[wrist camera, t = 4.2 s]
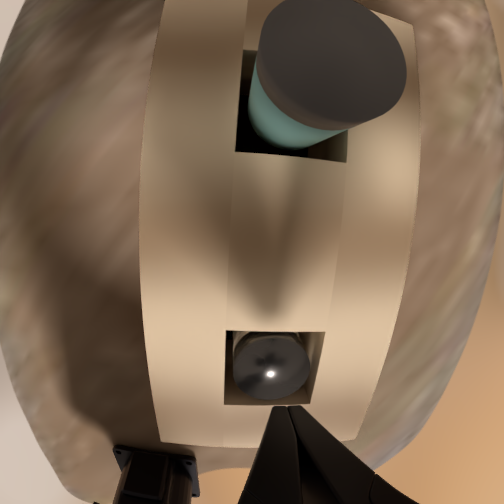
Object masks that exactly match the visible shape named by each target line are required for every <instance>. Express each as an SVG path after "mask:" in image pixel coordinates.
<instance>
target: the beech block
mask: <svg viewBox="0 0 504 504" xmlns="http://www.w3.org/2000/svg"><path fill="white" fill-rule="evenodd" d="M283 1H285V0H165V3H164V7H163V11H162V16H161V20H160V25H159V29H158V34H157V39H156V44H155V49H154V55H153V61H152V67H151V73H150V80H149V87H148V94H147V102H146V110H145V119H144V129H143V141H142V154H141V170H140V193H139V261H140V285H141V301H142V314H143V326H144V336H145V346H146V354H147V362H148V370H149V377H150V384H151V390H152V397H153V403H154V408H155V414H156V419H157V424H158V429H159V434H160V439H161V442H169V443H177V444H187V445H198V446H213V447H240V448H259V445H260V442H261V439H262V436H263V433H264V431H265V428H266V425H267V422H268V418H269V415H270V412H271V409H272V407H273V406H286V407H287V406H290V405H301V406H303V407H304V408H305V409H306V410H307V411H308V412H309V413H310V414H311V415H312V416H313V417H314V418H315V419H316V420H317V421H318V422H319V423H320V424H321V425H322V426H323V427H325V428H326V429H327V430H328V431H329V432H330V433H331V434H332V435H333V436H334V437H335V438H336V439H338V440H339V441H346V440H352V439H355V438H356V436H357V434H358V432H359V429H360V427H361V424H362V422H363V420H364V417H365V415H366V412H367V410H368V407H369V404H370V402H371V399H372V396H373V394H374V391H375V388H376V385H377V382H378V379H379V376H380V373H381V370H382V367H383V364H384V361H385V358H386V354H387V351H388V348H389V344H390V341H391V337H392V334H393V330H394V326H395V322H396V318H397V314H398V310H399V306H400V302H401V297H402V293H403V288H404V283H405V278H406V273H407V268H408V263H409V257H410V251H411V244H412V238H413V231H414V223H415V215H416V206H417V195H418V183H419V167H420V133H421V125H420V91H419V76H418V65H417V55H416V47H415V39H414V32H413V26H412V25H411V24H408V23H406V22H403V21H401V20H398V19H395V18H392V17H390V16H387V15H384V14H381V13H378V12H375V11H372V10H370V11H372V12H373V13H374V14H376V15H377V16H378V17H379V18H380V19H381V20H382V21H383V22H384V23H385V24H386V25H387V26H388V27H389V28H390V30H391V31H392V32H393V34H394V35H395V37H396V38H397V40H398V42H399V44H400V46H401V48H402V51H403V53H404V57H405V61H406V67H407V79H406V85H405V88H404V92H403V94H402V96H401V98H400V99H399V101H398V102H397V104H396V105H395V106H394V107H393V108H392V109H391V110H389V111H388V112H386V113H385V114H383V115H381V116H379V117H377V118H375V119H372V120H370V121H367V122H365V123H362V124H360V125H358V126H355V127H353V128H350V129H348V130H346V131H343V132H341V133H339V134H336V135H334V136H332V137H330V138H327V139H325V140H323V141H321V142H318V143H316V144H314V145H312V146H310V147H308V158H302V157H293V156H283V155H272V154H259V153H245V152H236V139H237V125H238V112H239V99H240V95H249V94H250V89H251V83H252V77H253V72H254V66H255V61H256V56H257V50H258V45H259V40H260V35H261V29H262V27H263V24H264V21H265V20H266V18H267V16H268V15H269V13H270V12H271V11H272V10H273V9H274V8H275V7H276V6H277V5H278V4H280V3H281V2H283ZM226 330H235V331H268V332H298V333H299V336H300V338H301V340H302V343H303V345H304V348H305V350H306V353H307V355H308V358H309V361H310V372H309V375H308V378H307V380H306V381H305V383H304V384H303V385H302V386H301V387H300V388H299V389H298V390H297V391H295V392H294V393H292V394H290V395H288V396H286V397H283V398H279V399H274V400H263V399H257V398H254V397H251V396H249V395H247V394H245V393H244V392H243V391H242V390H240V389H239V387H238V386H237V384H236V383H235V380H234V377H233V340H226Z"/></svg>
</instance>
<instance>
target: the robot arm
mask: <svg viewBox="0 0 504 504" xmlns="http://www.w3.org/2000/svg"><path fill="white" fill-rule="evenodd" d="M113 453H114V455H115V458H116V460H117V463H118V465H119V467H120V469H121V472H122V474H121V477H120V480H119V484H118V487H117V490H116V494H115V497H114V500H113V504H191V497H199V496H200V489H199V481H198V473H197V464H196V459H195V458H194V457H191V456H183V455H174V454H166V453H159V452H153V451H146V450H141V449H135V448H130V447H125V446H120V445H115V446H114V447H113ZM93 504H99V503H97V502H94V503H93ZM238 504H419V503H417V502H415V501H414V500H412V499H410V498H409V497H407V496H406V495H404V494H403V493H401V492H400V491H398V490H397V489H395V488H394V487H393V486H391V485H390V484H389V483H387V482H386V481H385V480H384V479H382V478H381V477H380V476H379V475H378V474H375V472H374V471H373V470H372V469H370V468H369V467H368V466H367V465H366V464H365V463H363V462H362V461H361V460H360V459H359V458H358V457H356V456H355V455H354V454H353V453H352V452H351V451H350V450H349V449H347V448H346V447H345V446H344V445H343V444H342V443H341V442H340V441H339V440H338V439H336V438H335V437H334V436H333V435H332V434H331V433H330V432H329V431H328V430H327V429H326V428H325V427H323V426H322V425H321V424H320V423H319V422H318V421H317V420H316V419H315V418H314V417H313V416H312V415H311V414H310V413H309V412H308V411H307V410H306V409H305V408H304V407H303V406H301V405H290V406H287V407H286V406H273V407H272V409H271V412H270V415H269V418H268V422H267V425H266V428H265V431H264V433H263V436H262V439H261V442H260V445H259V448H258V451H257V454H256V457H255V459H254V462H253V465H252V468H251V470H250V473H249V476H248V479H247V481H246V484H245V486H244V490H243V491H242V494H241V496H240V499H239V502H238Z"/></svg>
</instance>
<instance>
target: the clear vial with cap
mask: <svg viewBox="0 0 504 504" xmlns="http://www.w3.org/2000/svg"><path fill="white" fill-rule="evenodd" d="M309 372H310V361H309V358H308V355H307V353H306V350H305V348H304V345H303V343H302V340H301V338H300V336H299V333H298V332H268V331H235V330H233V377H234V380H235V383H236V384H237V386H238V387H239V389H240V390H242V391H243V392H244V393H245V394H247V395H249V396H251V397H254V398H257V399H263V400H274V399H279V398H283V397H286V396H288V395H290V394H292V393H294V392H295V391H297V390H298V389H299V388H300V387H301V386H302V385H303V384H304V383H305V381H306V380H307V378H308V375H309Z"/></svg>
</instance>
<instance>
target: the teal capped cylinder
mask: <svg viewBox="0 0 504 504" xmlns="http://www.w3.org/2000/svg"><path fill="white" fill-rule="evenodd" d="M406 79H407V67H406V61H405V57H404V53H403V51H402V48H401V46H400V44H399V42H398V40H397V38H396V37H395V35H394V34H393V32H392V31H391V30H390V28H389V27H388V26H387V25H386V24H385V23H384V22H383V21H382V20H381V19H380V18H379V17H378V16H377V15H376V14H374V13H373V12H372V11H370V10H369V9H367V8H366V7H364V6H363V5H361V4H359V3H357V2H355V1H353V0H285V1H283V2H281V3H280V4H278V5H277V6H276V7H275V8H274V9H273V10H272V11H271V12H270V13H269V15H268V16H267V18H266V20H265V21H264V24H263V27H262V29H261V35H260V40H259V45H258V50H257V56H256V61H255V66H254V72H253V77H252V83H251V89H250V94H249V100H248V117H249V121H250V123H251V126H252V127H253V129H254V131H255V132H256V133H257V135H258V136H259V137H260V138H261V139H262V140H264V141H265V142H266V143H268V144H270V145H272V146H274V147H276V148H279V149H284V150H300V149H304V148H307V147H310V146H312V145H314V144H316V143H318V142H321V141H323V140H325V139H327V138H330V137H332V136H334V135H336V134H339V133H341V132H343V131H346V130H348V129H350V128H353V127H355V126H358V125H360V124H362V123H365V122H367V121H370V120H372V119H375V118H377V117H379V116H381V115H383V114H385V113H386V112H388V111H389V110H391V109H392V108H393V107H394V106H395V105H396V104H397V102H398V101H399V99H400V98H401V96H402V94H403V92H404V88H405V85H406Z"/></svg>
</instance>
